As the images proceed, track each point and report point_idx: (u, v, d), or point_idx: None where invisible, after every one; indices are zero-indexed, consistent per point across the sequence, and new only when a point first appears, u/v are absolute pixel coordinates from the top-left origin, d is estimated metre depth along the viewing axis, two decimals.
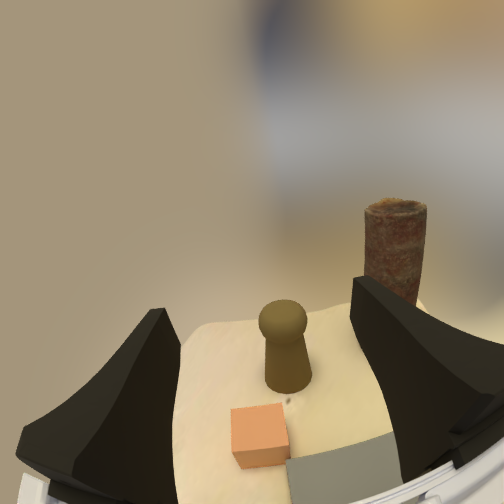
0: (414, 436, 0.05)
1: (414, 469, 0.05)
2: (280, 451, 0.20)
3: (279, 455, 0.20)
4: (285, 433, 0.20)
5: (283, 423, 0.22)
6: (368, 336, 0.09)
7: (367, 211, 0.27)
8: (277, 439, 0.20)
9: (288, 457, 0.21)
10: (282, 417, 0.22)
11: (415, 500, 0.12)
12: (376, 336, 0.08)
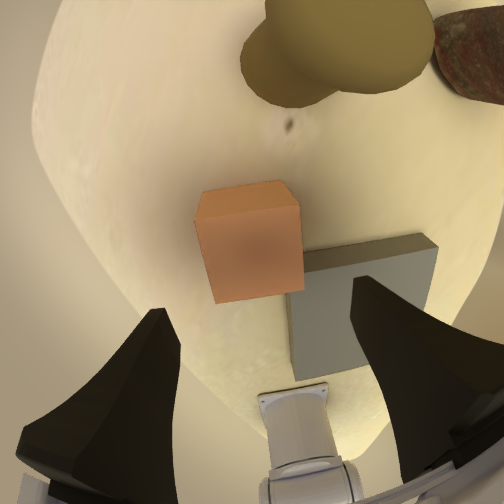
0: (414, 437, 0.05)
1: (414, 468, 0.05)
2: None
3: None
4: (300, 270, 0.15)
5: (299, 251, 0.14)
6: (368, 336, 0.09)
7: None
8: (287, 281, 0.15)
9: None
10: (298, 239, 0.14)
11: None
12: (376, 336, 0.08)
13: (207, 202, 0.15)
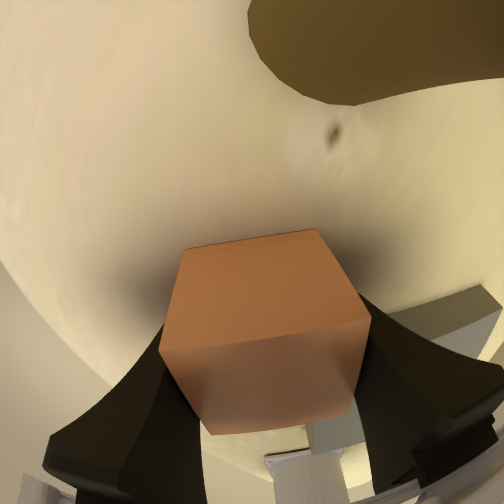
0: (382, 449, 0.05)
1: (383, 481, 0.05)
2: None
3: None
4: (348, 397, 0.08)
5: (352, 379, 0.07)
6: None
7: None
8: (325, 410, 0.08)
9: None
10: (355, 365, 0.07)
11: None
12: None
13: (188, 286, 0.08)
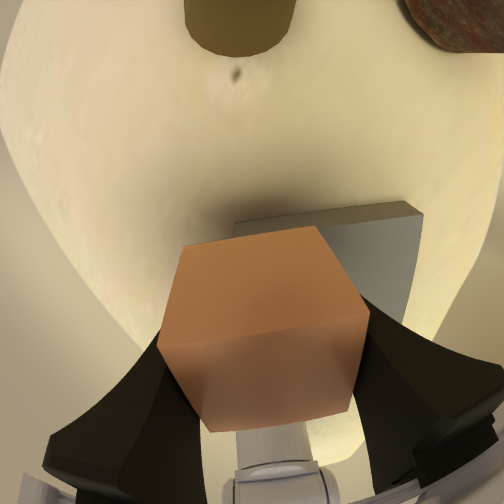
0: (382, 449, 0.05)
1: (383, 481, 0.05)
2: None
3: None
4: (348, 394, 0.08)
5: (351, 375, 0.07)
6: None
7: None
8: (324, 407, 0.08)
9: None
10: (354, 361, 0.07)
11: None
12: None
13: (187, 282, 0.08)
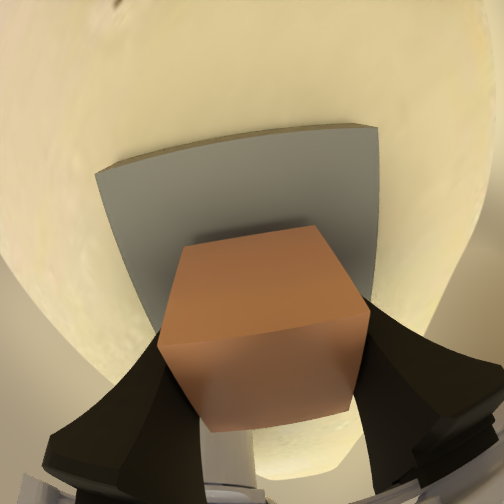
0: (382, 449, 0.05)
1: (383, 481, 0.05)
2: None
3: None
4: (349, 393, 0.08)
5: (352, 375, 0.07)
6: None
7: None
8: (325, 407, 0.08)
9: None
10: (355, 360, 0.07)
11: None
12: None
13: (187, 282, 0.08)
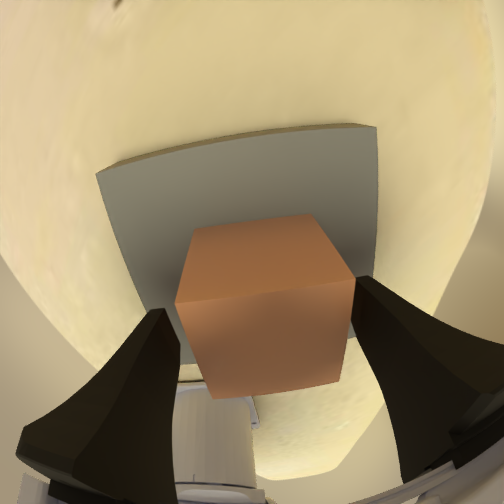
0: (414, 436, 0.05)
1: (414, 469, 0.05)
2: None
3: None
4: (339, 362, 0.09)
5: (342, 341, 0.09)
6: (368, 336, 0.09)
7: None
8: (317, 375, 0.09)
9: None
10: (344, 326, 0.08)
11: None
12: (376, 336, 0.08)
13: (200, 256, 0.09)
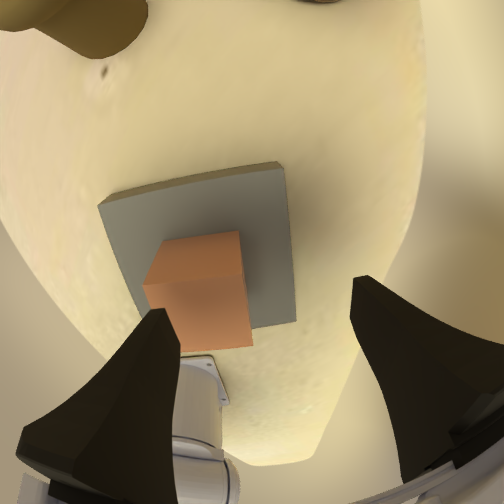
0: (414, 437, 0.05)
1: (414, 469, 0.05)
2: None
3: None
4: (248, 330, 0.15)
5: (244, 314, 0.14)
6: (368, 336, 0.09)
7: None
8: (235, 338, 0.15)
9: None
10: (243, 304, 0.14)
11: (269, 289, 0.20)
12: (376, 336, 0.08)
13: (161, 259, 0.15)
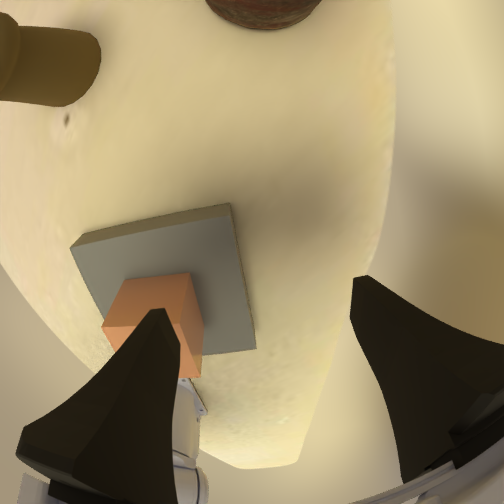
0: (414, 437, 0.05)
1: (414, 469, 0.05)
2: None
3: None
4: (193, 365, 0.16)
5: (188, 353, 0.15)
6: (368, 336, 0.09)
7: None
8: (183, 371, 0.16)
9: None
10: (184, 345, 0.15)
11: (227, 322, 0.21)
12: (376, 336, 0.08)
13: (119, 300, 0.16)
